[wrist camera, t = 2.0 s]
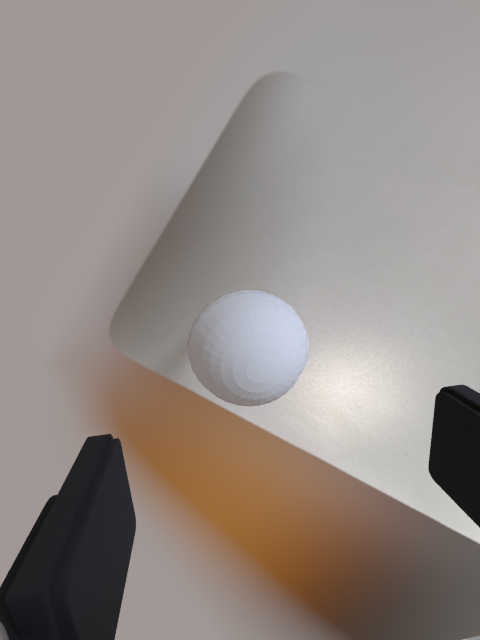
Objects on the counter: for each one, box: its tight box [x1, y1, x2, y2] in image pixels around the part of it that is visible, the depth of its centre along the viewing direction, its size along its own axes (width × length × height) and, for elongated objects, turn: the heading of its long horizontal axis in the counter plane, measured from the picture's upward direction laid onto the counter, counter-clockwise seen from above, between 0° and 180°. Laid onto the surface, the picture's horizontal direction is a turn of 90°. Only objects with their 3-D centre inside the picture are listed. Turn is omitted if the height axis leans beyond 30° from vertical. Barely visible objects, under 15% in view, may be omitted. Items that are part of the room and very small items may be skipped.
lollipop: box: [188, 290, 309, 406], centre depth 21 cm, size 6×6×15 cm
